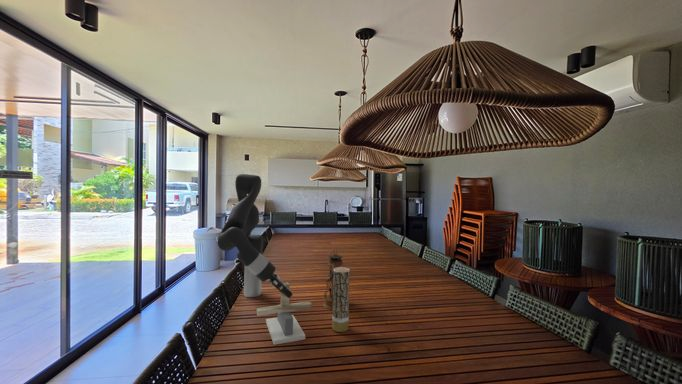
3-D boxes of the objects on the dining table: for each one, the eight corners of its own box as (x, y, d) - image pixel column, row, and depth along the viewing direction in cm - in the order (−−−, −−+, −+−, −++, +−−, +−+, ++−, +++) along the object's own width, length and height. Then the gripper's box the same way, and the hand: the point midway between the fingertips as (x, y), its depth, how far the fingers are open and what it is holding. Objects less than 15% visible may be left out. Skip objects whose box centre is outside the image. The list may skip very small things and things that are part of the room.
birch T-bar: (256, 313, 112) (257, 285, 112) (309, 305, 120) (309, 280, 121) (257, 316, 109) (258, 287, 109) (311, 308, 118) (311, 282, 118)
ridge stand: (266, 322, 121) (266, 303, 122) (293, 318, 126) (293, 300, 126) (273, 344, 103) (274, 323, 103) (305, 339, 108) (305, 318, 108)
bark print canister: (346, 333, 113) (348, 271, 113) (330, 331, 114) (331, 270, 115) (349, 326, 119) (350, 267, 120) (334, 324, 121) (335, 266, 121)
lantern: (345, 313, 133) (346, 250, 134) (319, 310, 136) (320, 248, 136) (350, 300, 150) (351, 244, 151) (327, 298, 152) (328, 243, 153)
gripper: (270, 263, 106) (299, 291, 110) (265, 256, 119) (291, 280, 123) (255, 279, 104) (285, 306, 108) (252, 269, 117) (278, 294, 121)
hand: (288, 292), depth 115 cm, fingers open, 8 cm apart
